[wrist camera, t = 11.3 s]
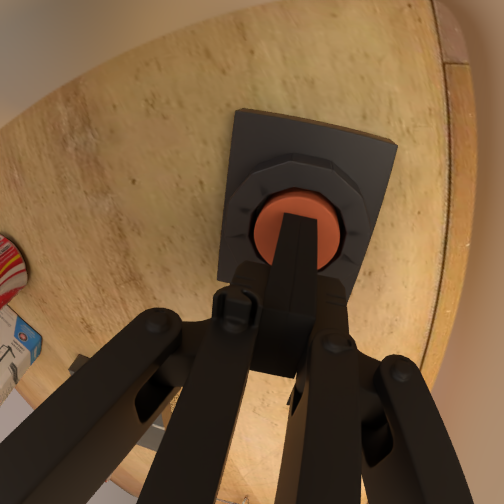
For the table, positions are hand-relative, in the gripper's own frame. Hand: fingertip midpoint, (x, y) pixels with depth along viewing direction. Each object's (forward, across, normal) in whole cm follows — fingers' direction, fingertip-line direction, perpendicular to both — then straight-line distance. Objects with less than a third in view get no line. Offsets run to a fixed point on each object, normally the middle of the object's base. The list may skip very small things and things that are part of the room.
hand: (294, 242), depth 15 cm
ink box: (+4, -30, -21) cm, 37 cm away
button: (+2, 0, 0) cm, 2 cm away
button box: (+4, 0, 0) cm, 4 cm away
